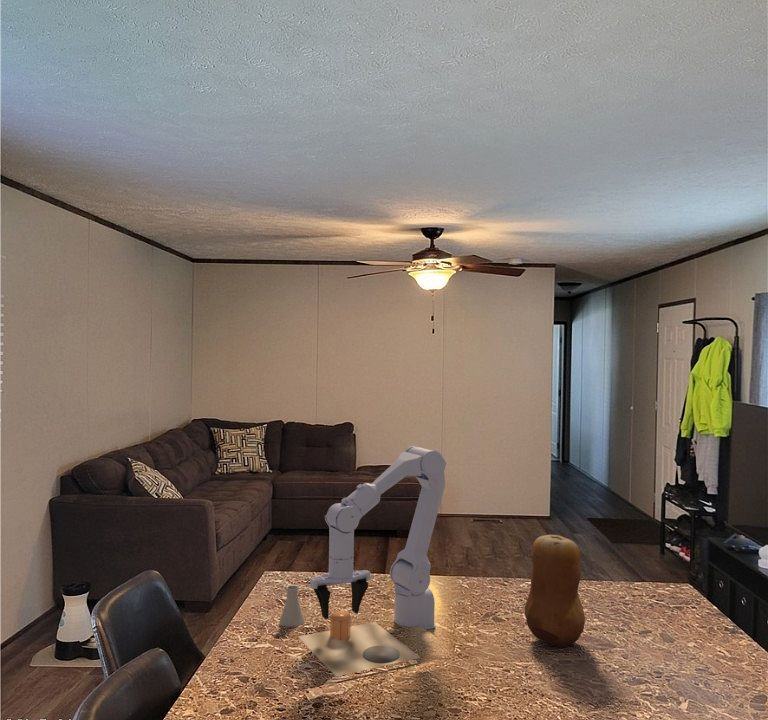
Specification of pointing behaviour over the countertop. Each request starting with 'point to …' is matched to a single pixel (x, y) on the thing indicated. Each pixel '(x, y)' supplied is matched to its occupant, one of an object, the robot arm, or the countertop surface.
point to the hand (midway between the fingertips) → (340, 614)
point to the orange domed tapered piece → (340, 625)
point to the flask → (292, 609)
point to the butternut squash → (555, 591)
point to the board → (359, 650)
